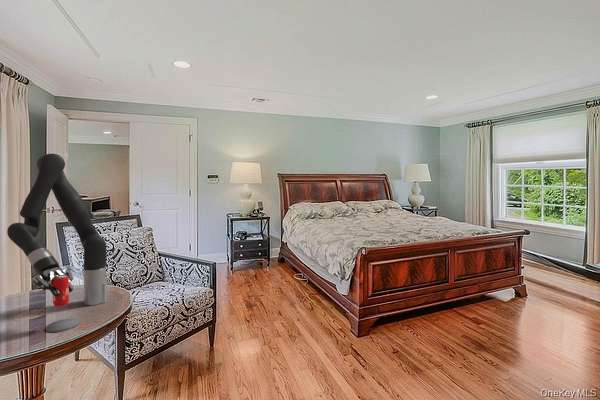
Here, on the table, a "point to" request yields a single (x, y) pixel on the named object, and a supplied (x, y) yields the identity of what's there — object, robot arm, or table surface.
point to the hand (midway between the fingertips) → (65, 292)
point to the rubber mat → (62, 325)
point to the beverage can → (61, 290)
